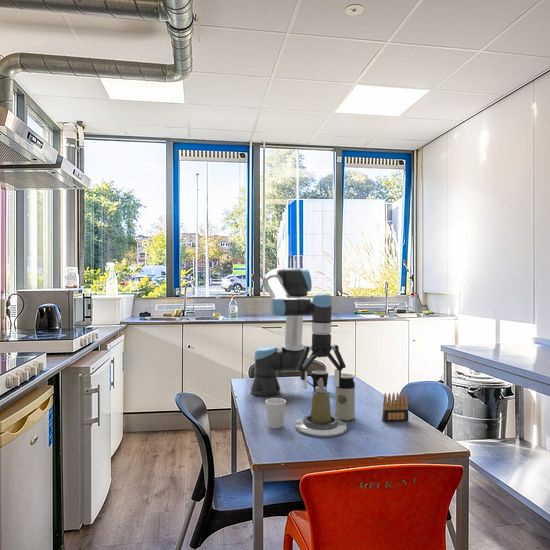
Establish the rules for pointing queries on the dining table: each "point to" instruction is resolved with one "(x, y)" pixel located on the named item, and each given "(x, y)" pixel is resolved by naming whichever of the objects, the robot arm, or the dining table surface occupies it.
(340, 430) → the rosette plate
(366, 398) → the dining table surface
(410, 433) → the dining table surface
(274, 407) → the dixie cup
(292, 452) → the dining table surface
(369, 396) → the dining table surface
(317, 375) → the coffee mug
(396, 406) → the ammunition clip
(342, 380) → the travel mug
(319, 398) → the squeeze bottle
